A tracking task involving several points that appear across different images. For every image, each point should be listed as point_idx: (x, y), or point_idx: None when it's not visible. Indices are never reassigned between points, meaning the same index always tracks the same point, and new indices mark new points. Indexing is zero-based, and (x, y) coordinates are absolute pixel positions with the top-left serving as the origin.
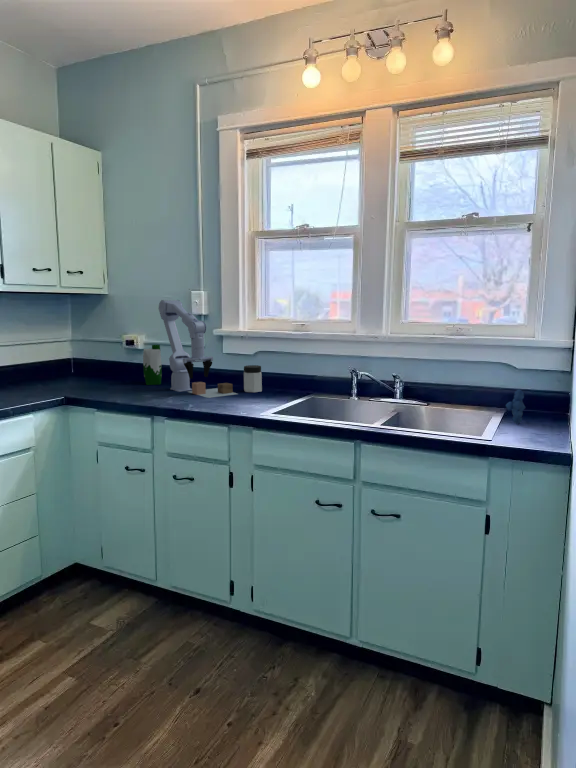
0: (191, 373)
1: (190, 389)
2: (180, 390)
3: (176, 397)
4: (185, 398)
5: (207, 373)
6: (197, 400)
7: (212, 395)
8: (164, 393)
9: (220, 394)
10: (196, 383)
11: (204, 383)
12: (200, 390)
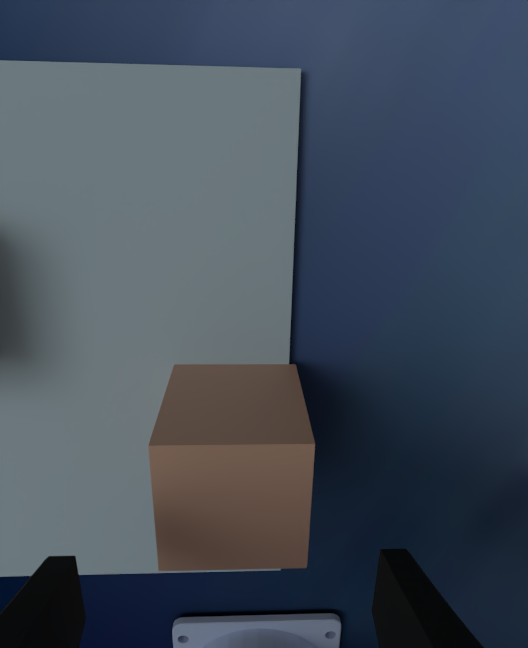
0: (466, 633)
1: (204, 627)
2: (310, 630)
3: (520, 399)
4: (492, 289)
5: (22, 614)
6: (475, 58)
7: (157, 201)
8: (465, 621)
9: (27, 197)
10: (292, 480)
11: (168, 440)
12: (246, 386)
